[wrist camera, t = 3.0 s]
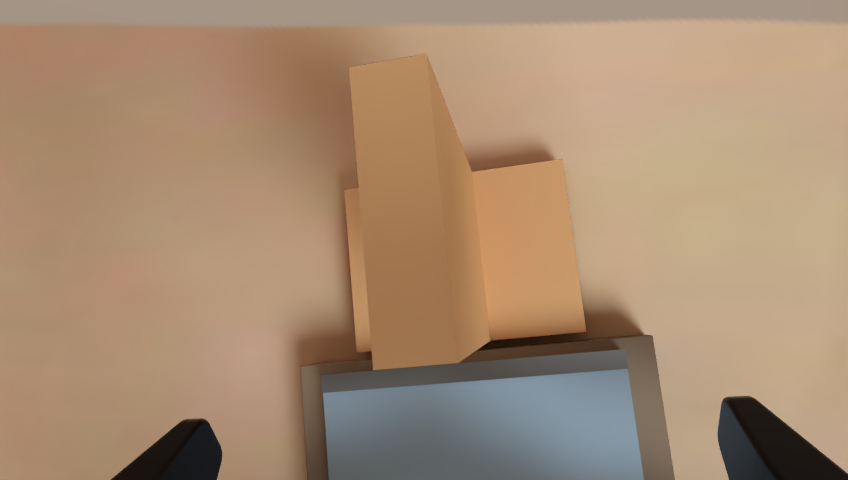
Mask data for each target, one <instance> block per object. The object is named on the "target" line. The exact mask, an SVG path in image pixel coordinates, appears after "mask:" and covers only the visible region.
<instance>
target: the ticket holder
mask: <svg viewBox="0 0 848 480" xmlns="http://www.w3.org/2000/svg"><path fill="white" fill-rule="evenodd" d="M301 381H302V397H303V413H304V429H305V445H306V461H307V478H308V480H675V478H674V472H673V466H672V459H671V453H670V446H669V440H668V433H667V427H666V420H665V414H664V407H663V401H662V394H661V388H660V381H659V375H658V368H657V362H656V355H655V349H654V342H653V336H651V335H633V336H622V337H611V338H600V339H588V340H577V341H566V342H554V343H543V344H532V345H520V346H509V347H498V348H487V349H478V350H476V351H475V352H473V353H472V354H470V355H469V356H468V357H466V358H465V359H463V360H462V361H460V362H459V363H452V364H440V365H428V366H416V367H405V368H393V369H381V370H373V362H372V359H362V360H351V361H340V362H328V363H317V364H310V365H306V366H301Z"/></svg>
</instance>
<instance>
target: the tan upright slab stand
mask: <svg viewBox="0 0 848 480" xmlns="http://www.w3.org/2000/svg"><path fill="white" fill-rule="evenodd" d="M349 76H350V89H351V101H352V114H353V126H354V138H355V151H356V163H357V176H358V188H353V189H345V190H344V193H345V206H346V219H347V232H348V245H349V258H350V271H351V284H352V298H353V311H354V324H355V337H356V350H357V353H358V352H369V351H372V362H373V370H381V369H393V368H405V367H416V366H428V365H440V364H452V363H459V362H460V361H462V360H463V359H465V358H466V357H468V356H469V355H470V354H472V353H473V352H475V351H476V350H478V349H479V348H481V347H482V346H484V345H485V344H486V343H488V342H489V341H491V340H501V339H512V338H523V337H534V336H546V335H557V334H568V333H579V332H586V326H585V318H584V311H583V304H582V296H581V289H580V282H579V275H578V267H577V260H576V253H575V245H574V238H573V231H572V223H571V216H570V209H569V202H568V194H567V187H566V180H565V172H564V165H563V159H559V160H552V161H545V162H538V163H531V164H524V165H517V166H509V167H502V168H495V169H488V170H481V171H474V172H472V171H471V168H470V165H469V163H468V160H467V158H466V155H465V152H464V150H463V147H462V145H461V142H460V139H459V137H458V134H457V132H456V129H455V126H454V124H453V121H452V119H451V116H450V113H449V111H448V108H447V106H446V103H445V100H444V98H443V95H442V93H441V90H440V88H439V85H438V82H437V80H436V77H435V75H434V72H433V69H432V67H431V64H430V62H429V59H428V56H427V54H422V55H416V56H410V57H405V58H399V59H394V60H388V61H382V62H377V63H371V64H365V65H360V66H354V67H349Z"/></svg>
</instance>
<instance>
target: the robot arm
mask: <svg viewBox="0 0 848 480" xmlns="http://www.w3.org/2000/svg"><path fill="white" fill-rule="evenodd" d="M718 442H719V446H720V450H721V453H722V457H723V460H724V464H725V467H726V470H727V474H728V477H729V480H848V474H847V473H846V472H845V471H844V470H843V469H841V468H840V467H839V466H838V465H836V464H835V463H834V462H833V461H831V460H830V459H829V458H828V457H826V456H825V455H824V454H823V453H822V452H820V451H819V450H818V449H817V448H815V447H814V446H813V445H812V444H810V443H809V442H808V441H807V440H805V439H804V438H803V437H802V436H801V435H799V434H798V433H797V432H796V431H794V430H793V429H792V428H791V427H789V426H788V425H787V424H786V423H785V422H783V421H782V420H781V419H780V418H778V417H777V416H776V415H775V414H773V413H772V412H771V411H770V410H768V409H767V408H766V407H765V406H764V405H762V404H761V403H760V402H759V401H757V400H756V399H755V398H753V397H750V396H735V397H726V398H724V399H723V401H722V404H721V411H720V419H719V426H718ZM221 461H222V450H221V446H220V444H219V442H218V440H217V438H216V436H215V434H214V432H213V430H212V428H211V426H210V424H209V422H208V421H207V420H205V419H186V420H183V421H181V422H180V423H179V424H177V425H176V426H175V427H174V428H172V429H171V430H170V431H169V432H168V433H166V434H165V435H164V436H163V437H162V438H160V439H159V440H158V441H157V442H156V443H154V444H153V445H152V446H151V447H150V448H148V449H147V450H146V451H145V452H144V453H142V454H141V455H140V456H139V457H138V458H136V459H135V460H134V461H133V462H132V463H130V464H129V465H128V466H127V467H126V468H124V469H123V470H122V471H121V472H119V473H118V474H117V475H116V476H115V477H113V478H112V479H111V480H217V477H218V473H219V469H220V465H221Z"/></svg>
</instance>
